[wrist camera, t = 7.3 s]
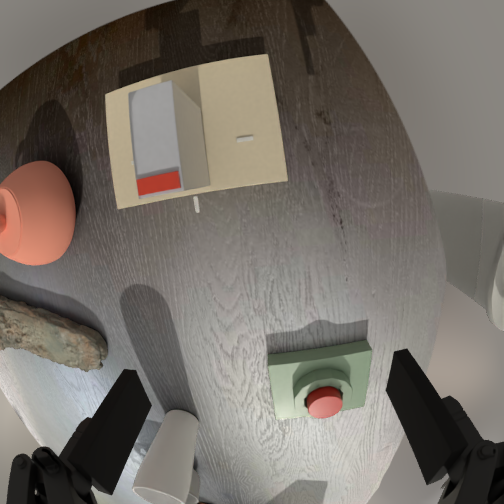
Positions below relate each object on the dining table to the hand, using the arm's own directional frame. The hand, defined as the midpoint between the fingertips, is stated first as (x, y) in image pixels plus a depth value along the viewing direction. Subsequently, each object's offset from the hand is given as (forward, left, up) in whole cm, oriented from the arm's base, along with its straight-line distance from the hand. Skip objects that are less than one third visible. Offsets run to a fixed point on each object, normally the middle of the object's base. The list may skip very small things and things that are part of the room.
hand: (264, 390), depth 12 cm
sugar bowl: (+26, -11, -17) cm, 33 cm away
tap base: (+5, -15, -17) cm, 23 cm away
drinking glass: (+15, +22, -17) cm, 31 cm away
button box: (-5, +15, -17) cm, 23 cm away
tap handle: (+5, -13, -13) cm, 19 cm away
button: (-5, +15, -13) cm, 20 cm away
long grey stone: (+39, +5, -17) cm, 43 cm away
